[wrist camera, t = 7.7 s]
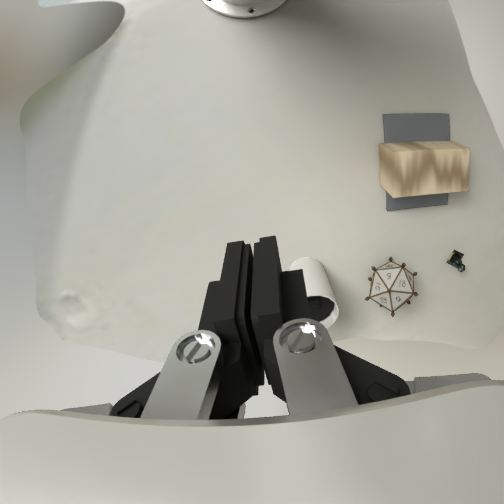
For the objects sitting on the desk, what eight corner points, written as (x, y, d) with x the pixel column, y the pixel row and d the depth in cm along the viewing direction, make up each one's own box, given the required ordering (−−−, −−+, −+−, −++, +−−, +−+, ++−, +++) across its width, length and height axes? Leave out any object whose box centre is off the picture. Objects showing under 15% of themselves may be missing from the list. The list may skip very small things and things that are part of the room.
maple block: (392, 151, 35) (469, 148, 33) (378, 143, 39) (451, 140, 38) (393, 197, 37) (467, 191, 36) (380, 185, 42) (450, 179, 40)
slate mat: (382, 114, 37) (383, 114, 37) (447, 113, 36) (448, 114, 36) (386, 209, 44) (387, 210, 44) (446, 203, 43) (447, 204, 42)
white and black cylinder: (280, 259, 49) (283, 300, 40) (323, 249, 48) (336, 289, 39) (289, 293, 52) (293, 337, 43) (329, 285, 51) (341, 327, 42)
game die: (387, 253, 52) (436, 266, 44) (377, 300, 53) (423, 318, 45) (356, 252, 47) (410, 266, 39) (345, 305, 48) (397, 326, 40)
